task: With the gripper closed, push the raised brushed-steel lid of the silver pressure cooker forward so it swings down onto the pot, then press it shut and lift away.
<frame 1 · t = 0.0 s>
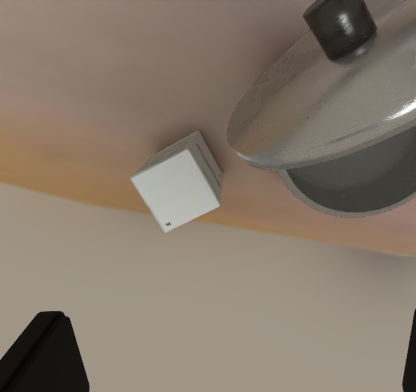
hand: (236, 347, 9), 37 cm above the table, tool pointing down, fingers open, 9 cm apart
cooker pot: (330, 118, 42), on the table
supplement box: (189, 162, 46), on the table
cooker lid: (370, 8, 19), point 22 cm above the table, hinge at 80.0°
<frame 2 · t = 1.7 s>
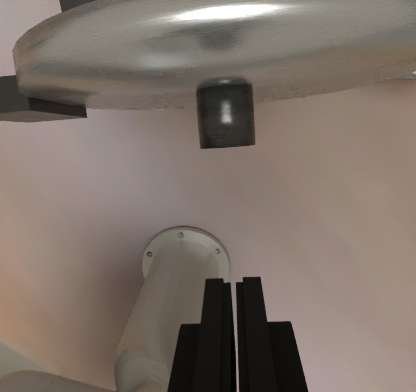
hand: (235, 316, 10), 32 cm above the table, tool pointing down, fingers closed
cooker lid: (192, 109, 17), point 22 cm above the table, hinge at 80.0°
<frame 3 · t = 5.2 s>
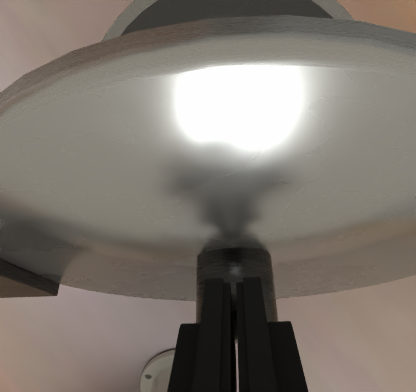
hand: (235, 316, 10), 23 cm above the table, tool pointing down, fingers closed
cooker pot: (229, 116, 30), on the table
cooker lid: (190, 283, 13), point 20 cm above the table, hinge at 41.9°, touching gripper
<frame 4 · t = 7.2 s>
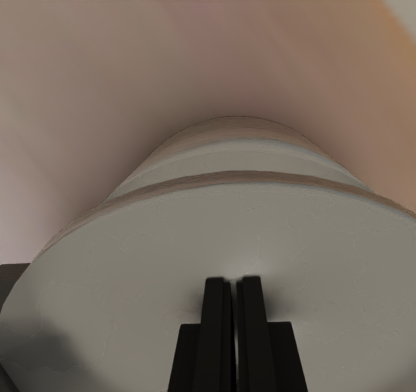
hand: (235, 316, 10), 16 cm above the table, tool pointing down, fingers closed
cooker pot: (235, 228, 27), on the table
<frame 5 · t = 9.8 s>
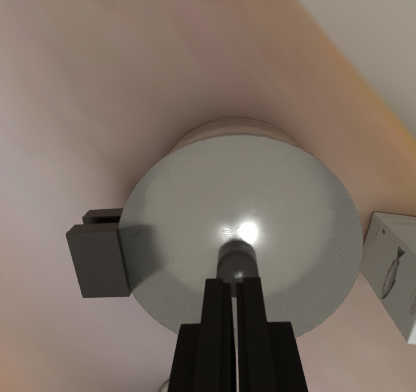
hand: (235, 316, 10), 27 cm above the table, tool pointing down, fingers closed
cooker pot: (234, 196, 38), on the table
supplement box: (392, 241, 39), on the table
cooker lid: (214, 264, 25), point 14 cm above the table, hinge at 0.0°, touching cooker pot
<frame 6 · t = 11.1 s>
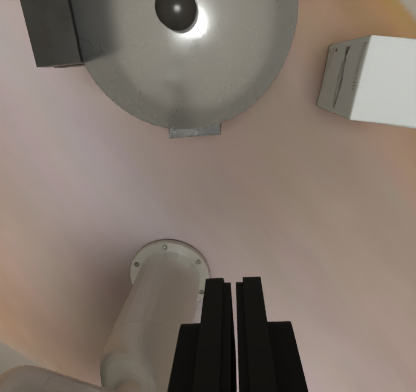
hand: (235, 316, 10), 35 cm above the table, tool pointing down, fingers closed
cooker pot: (196, 32, 39), on the table
supplement box: (350, 79, 40), on the table
cooker lid: (157, 13, 26), point 14 cm above the table, hinge at 0.0°, touching cooker pot
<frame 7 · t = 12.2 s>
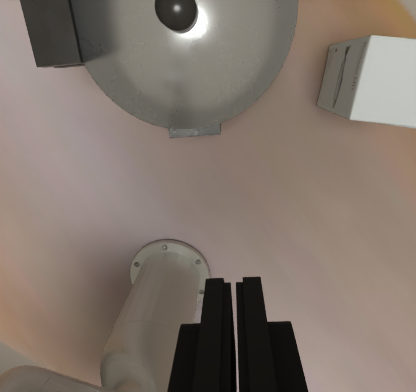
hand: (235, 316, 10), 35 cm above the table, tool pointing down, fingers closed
cooker pot: (196, 32, 39), on the table
supplement box: (350, 79, 40), on the table
cooker lid: (157, 13, 26), point 14 cm above the table, hinge at 0.0°, touching cooker pot
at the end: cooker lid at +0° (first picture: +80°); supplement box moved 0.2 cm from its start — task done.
